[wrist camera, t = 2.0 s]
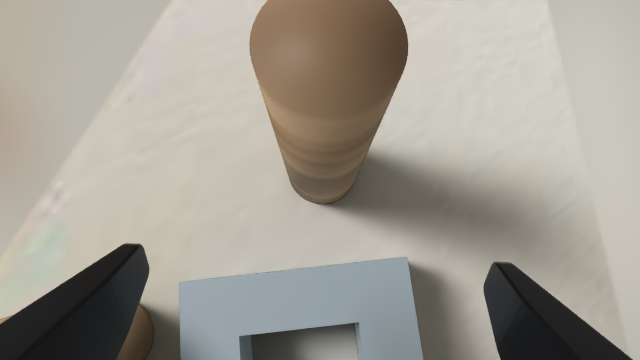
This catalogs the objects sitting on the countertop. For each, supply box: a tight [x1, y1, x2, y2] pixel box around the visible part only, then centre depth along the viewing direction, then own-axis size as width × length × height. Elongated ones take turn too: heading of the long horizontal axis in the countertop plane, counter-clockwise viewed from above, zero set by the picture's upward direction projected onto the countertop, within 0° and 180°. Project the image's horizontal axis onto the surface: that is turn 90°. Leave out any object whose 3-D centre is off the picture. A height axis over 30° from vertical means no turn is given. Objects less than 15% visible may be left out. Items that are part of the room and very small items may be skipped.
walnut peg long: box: [250, 0, 408, 204], centre depth 16 cm, size 4×4×13 cm
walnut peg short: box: [0, 304, 154, 360], centre depth 17 cm, size 4×4×7 cm
